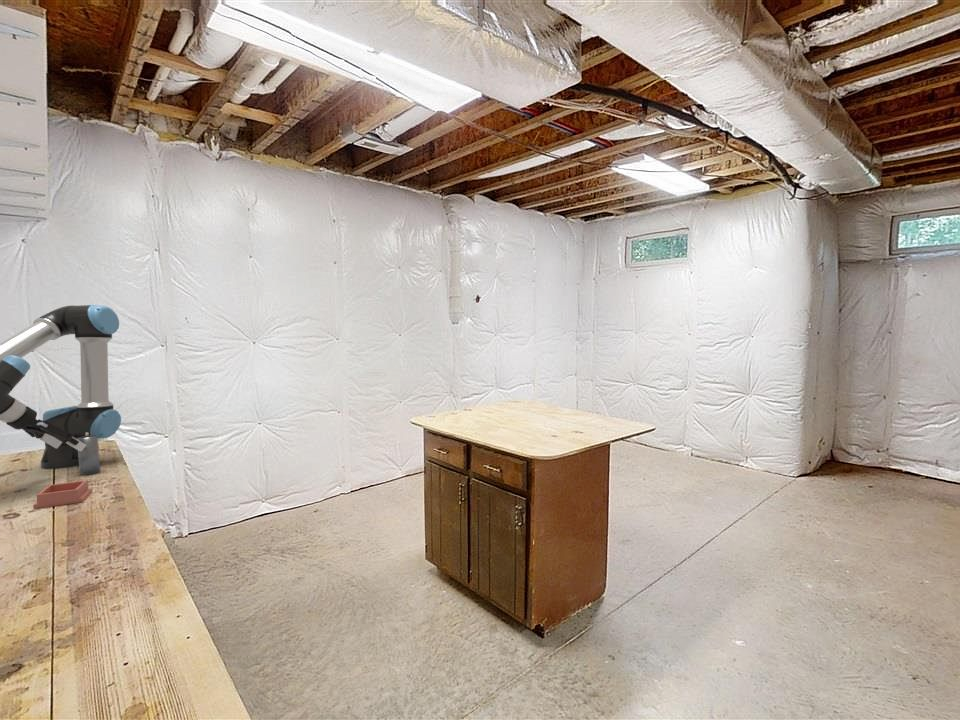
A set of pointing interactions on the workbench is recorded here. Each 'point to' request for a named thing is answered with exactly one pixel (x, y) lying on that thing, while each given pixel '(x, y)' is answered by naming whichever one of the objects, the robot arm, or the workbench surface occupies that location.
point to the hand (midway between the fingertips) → (71, 446)
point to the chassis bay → (63, 494)
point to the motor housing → (89, 455)
